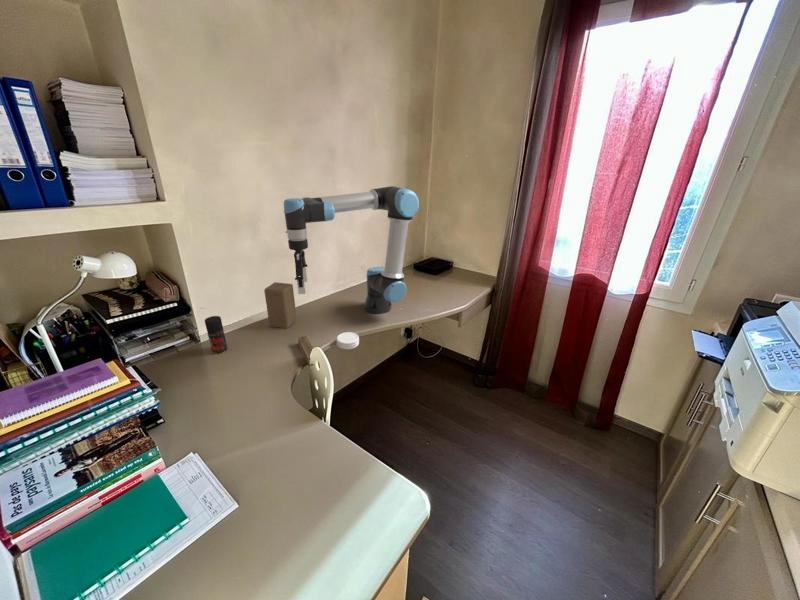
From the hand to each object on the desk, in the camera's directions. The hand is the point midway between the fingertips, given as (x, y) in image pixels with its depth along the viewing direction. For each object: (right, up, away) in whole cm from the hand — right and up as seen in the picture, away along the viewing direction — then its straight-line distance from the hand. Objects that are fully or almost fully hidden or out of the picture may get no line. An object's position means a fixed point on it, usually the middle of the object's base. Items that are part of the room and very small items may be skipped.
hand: (303, 287), depth 144 cm
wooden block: (-17, -17, +23) cm, 33 cm away
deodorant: (-36, -27, 0) cm, 45 cm away
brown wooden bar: (+2, -28, 0) cm, 28 cm away
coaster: (+18, -26, +8) cm, 32 cm away
